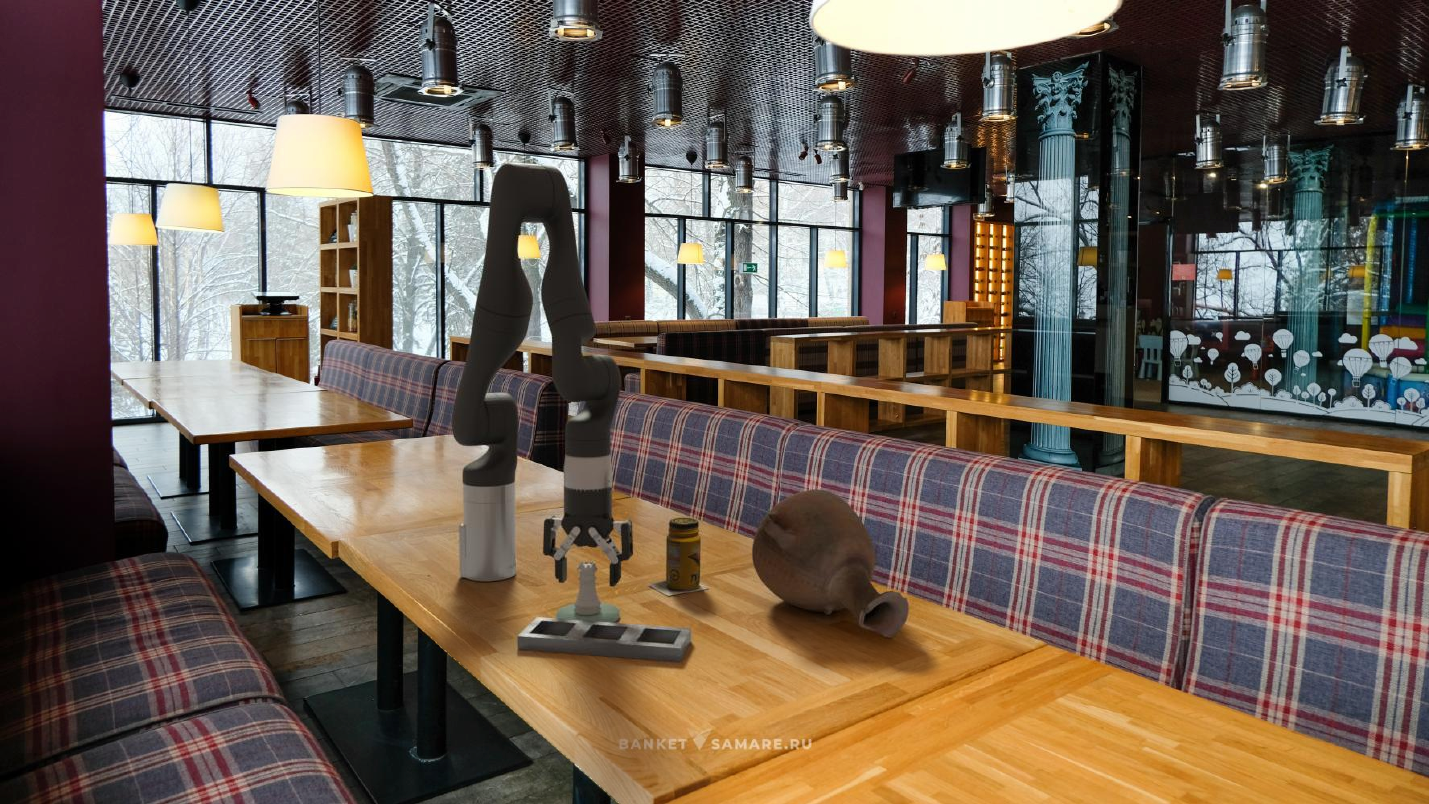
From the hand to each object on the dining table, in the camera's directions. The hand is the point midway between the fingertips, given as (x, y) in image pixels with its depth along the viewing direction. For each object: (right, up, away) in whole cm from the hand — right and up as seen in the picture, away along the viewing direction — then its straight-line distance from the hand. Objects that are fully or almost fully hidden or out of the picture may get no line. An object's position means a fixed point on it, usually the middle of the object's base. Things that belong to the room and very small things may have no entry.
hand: (588, 583), depth 148 cm
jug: (+39, -6, +3) cm, 39 cm away
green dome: (0, -5, +1) cm, 6 cm away
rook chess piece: (0, -5, +1) cm, 5 cm away
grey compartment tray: (+4, -7, -11) cm, 14 cm away
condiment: (+14, -4, +17) cm, 22 cm away
